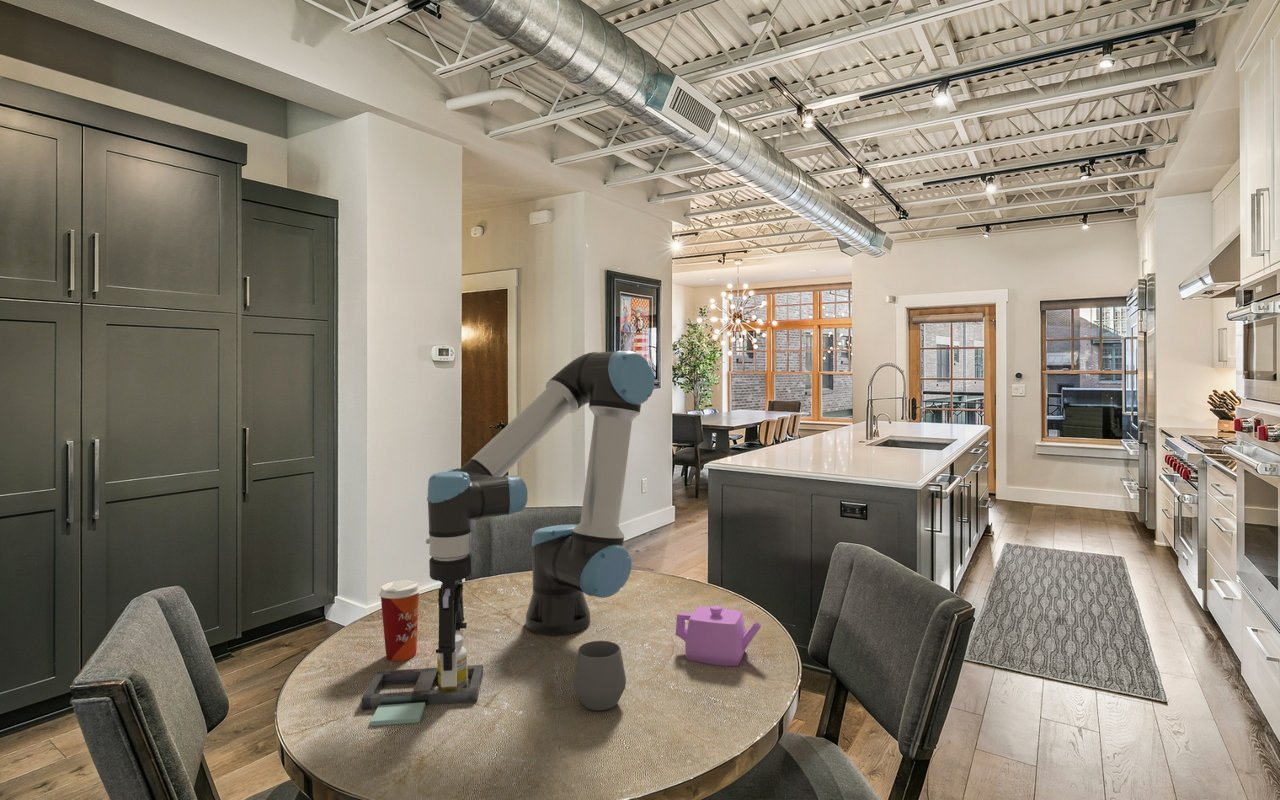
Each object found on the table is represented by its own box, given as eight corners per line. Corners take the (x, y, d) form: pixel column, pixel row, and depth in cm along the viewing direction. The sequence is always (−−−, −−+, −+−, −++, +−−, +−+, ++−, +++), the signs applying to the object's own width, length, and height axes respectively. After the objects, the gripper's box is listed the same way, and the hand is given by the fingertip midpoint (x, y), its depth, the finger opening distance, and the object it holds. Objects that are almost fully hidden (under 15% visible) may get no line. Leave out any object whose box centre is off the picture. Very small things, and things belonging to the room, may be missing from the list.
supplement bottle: (441, 683, 130) (440, 633, 129) (470, 682, 130) (469, 632, 130) (435, 697, 125) (434, 644, 124) (465, 695, 125) (464, 643, 125)
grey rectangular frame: (483, 674, 134) (482, 664, 133) (477, 701, 123) (476, 690, 123) (377, 681, 131) (377, 671, 131) (361, 709, 120) (361, 698, 120)
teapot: (765, 651, 144) (765, 603, 143) (756, 672, 134) (756, 621, 133) (683, 640, 150) (683, 595, 149) (669, 660, 140) (669, 611, 139)
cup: (577, 691, 126) (576, 638, 126) (627, 691, 126) (626, 638, 126) (570, 716, 117) (569, 660, 117) (624, 717, 117) (623, 660, 116)
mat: (425, 706, 121) (425, 702, 121) (419, 722, 116) (419, 717, 116) (378, 709, 120) (378, 705, 120) (370, 726, 114) (370, 721, 114)
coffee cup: (408, 665, 138) (407, 592, 138) (372, 662, 140) (370, 590, 139) (429, 648, 146) (428, 580, 146) (395, 645, 148) (393, 578, 147)
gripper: (438, 541, 136) (441, 652, 137) (418, 573, 115) (421, 703, 116) (476, 540, 137) (479, 649, 138) (463, 571, 116) (466, 700, 117)
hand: (452, 674), depth 127 cm, fingers open, 9 cm apart
